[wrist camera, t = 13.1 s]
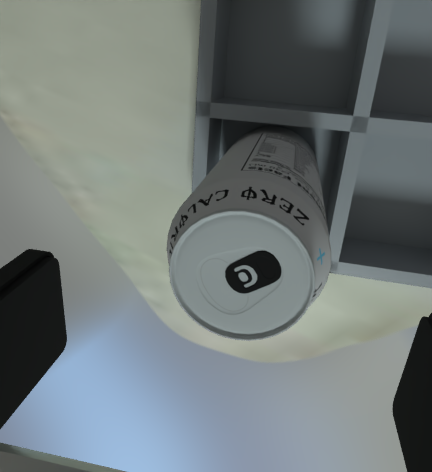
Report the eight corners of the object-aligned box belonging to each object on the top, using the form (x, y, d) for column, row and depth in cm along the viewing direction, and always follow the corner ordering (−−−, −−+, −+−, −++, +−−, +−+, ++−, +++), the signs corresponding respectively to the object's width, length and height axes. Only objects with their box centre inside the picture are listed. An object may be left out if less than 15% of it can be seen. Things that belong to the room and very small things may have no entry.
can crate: (222, -60, 23) (205, -87, 19) (564, -49, 20) (629, -77, 16) (204, 226, 30) (188, 251, 26) (458, 261, 27) (485, 296, 23)
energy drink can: (209, 153, 27) (117, 242, 14) (290, 105, 25) (277, 154, 12) (253, 228, 29) (210, 375, 15) (334, 188, 27) (367, 319, 13)
